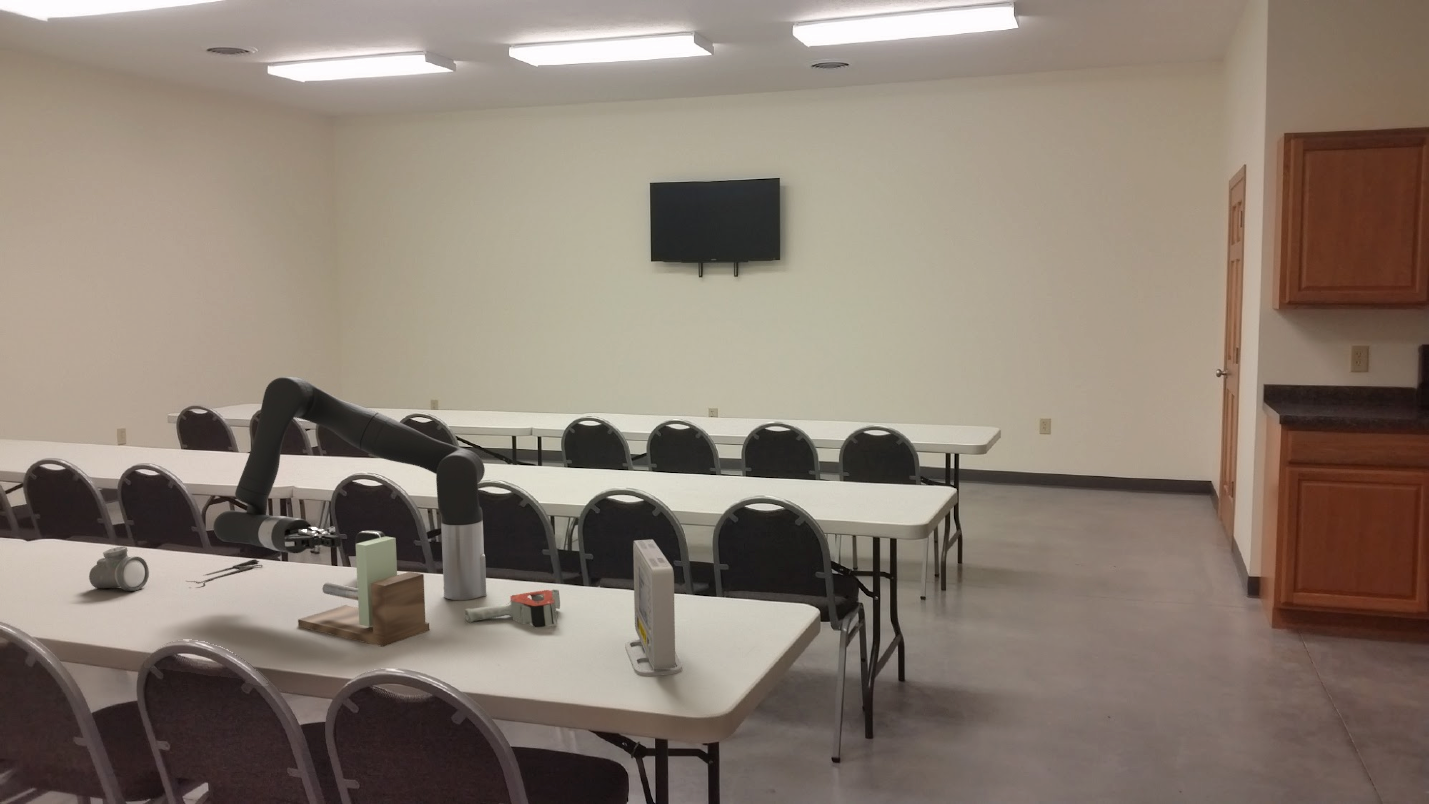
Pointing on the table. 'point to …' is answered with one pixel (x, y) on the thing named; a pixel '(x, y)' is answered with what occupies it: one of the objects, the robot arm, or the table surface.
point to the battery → (368, 536)
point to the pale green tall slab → (373, 571)
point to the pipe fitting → (119, 571)
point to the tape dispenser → (523, 609)
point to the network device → (653, 611)
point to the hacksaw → (241, 566)
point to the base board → (379, 613)
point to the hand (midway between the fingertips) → (337, 542)
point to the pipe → (340, 590)
